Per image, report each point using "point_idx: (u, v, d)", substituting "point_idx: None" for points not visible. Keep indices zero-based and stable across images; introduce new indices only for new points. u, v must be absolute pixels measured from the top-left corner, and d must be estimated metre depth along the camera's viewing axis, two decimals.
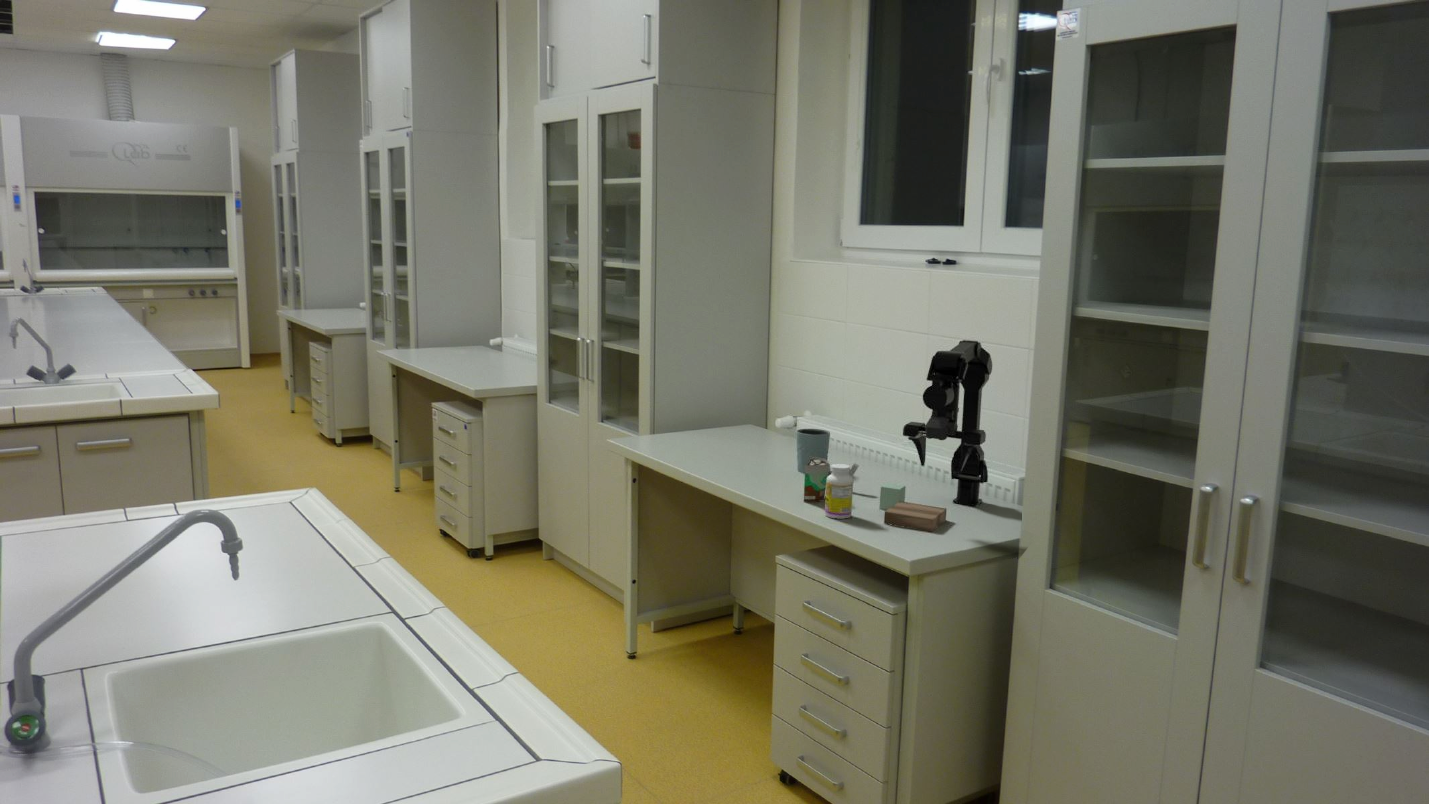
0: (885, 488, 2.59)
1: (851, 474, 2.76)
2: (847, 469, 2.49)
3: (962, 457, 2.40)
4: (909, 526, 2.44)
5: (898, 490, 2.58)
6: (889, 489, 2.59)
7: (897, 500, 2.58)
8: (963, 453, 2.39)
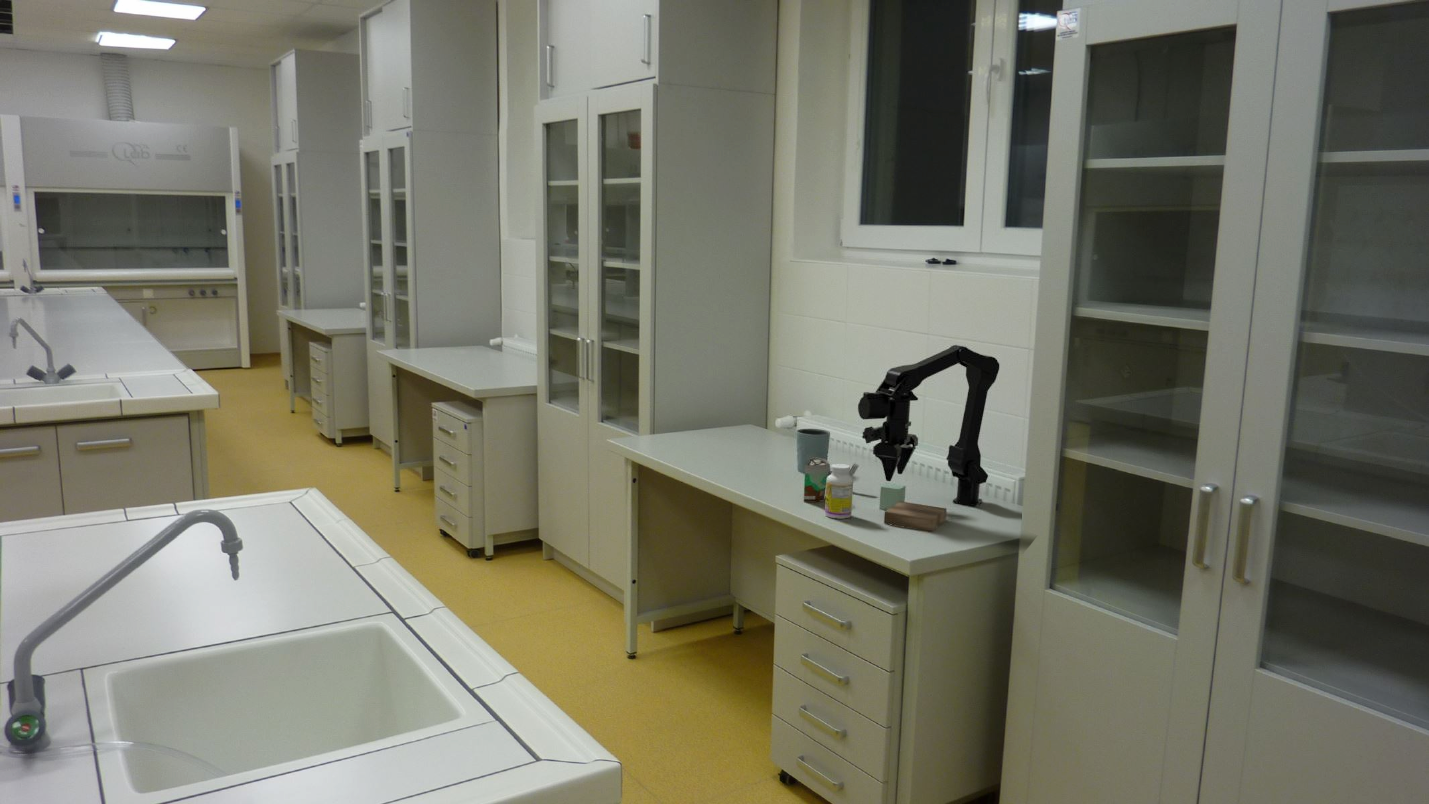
0: (885, 488, 2.59)
1: (851, 474, 2.76)
2: (847, 469, 2.49)
3: None
4: (909, 526, 2.44)
5: (898, 490, 2.58)
6: (889, 489, 2.59)
7: (897, 500, 2.58)
8: None
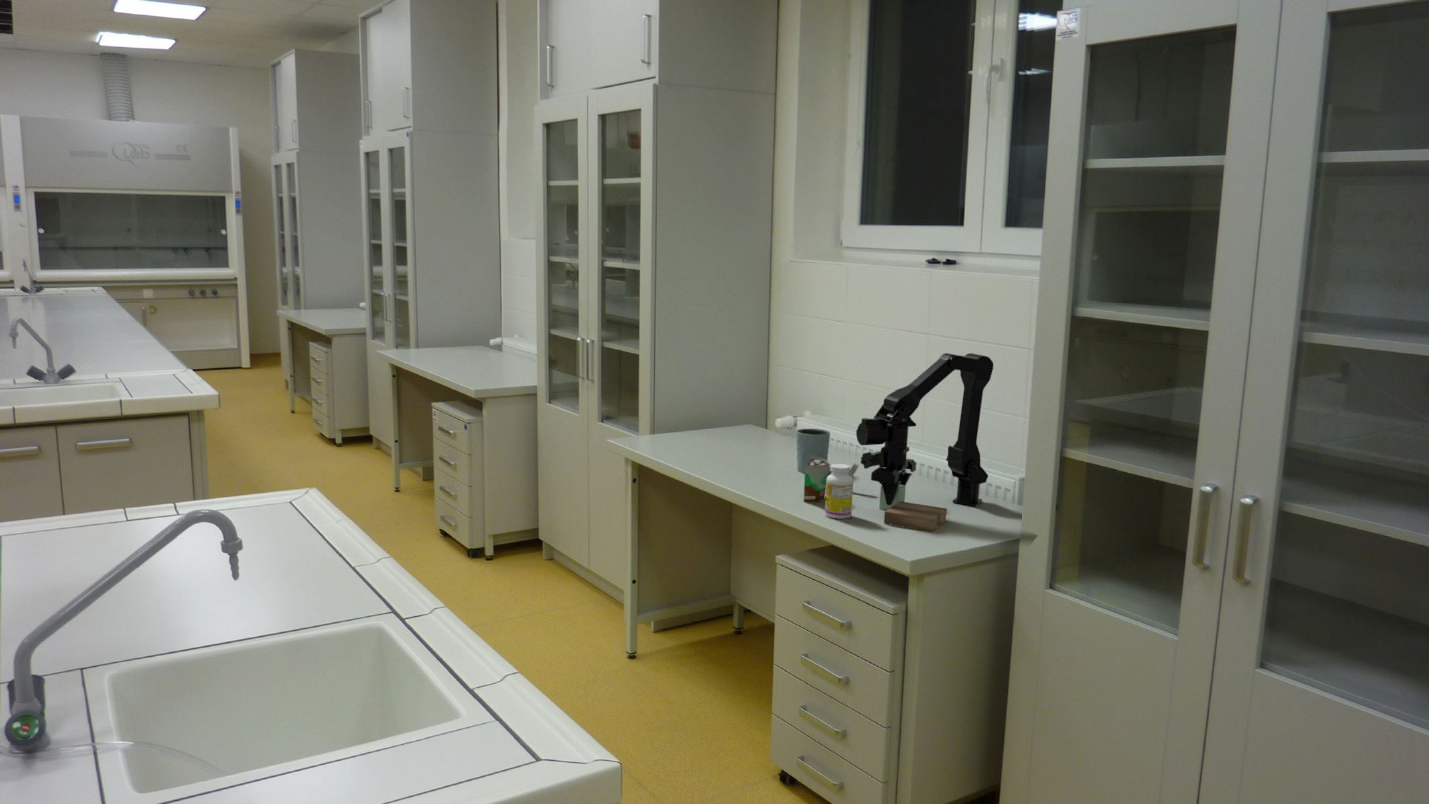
0: None
1: (851, 474, 2.76)
2: (847, 469, 2.49)
3: None
4: (909, 526, 2.44)
5: (898, 490, 2.58)
6: None
7: (897, 500, 2.58)
8: None
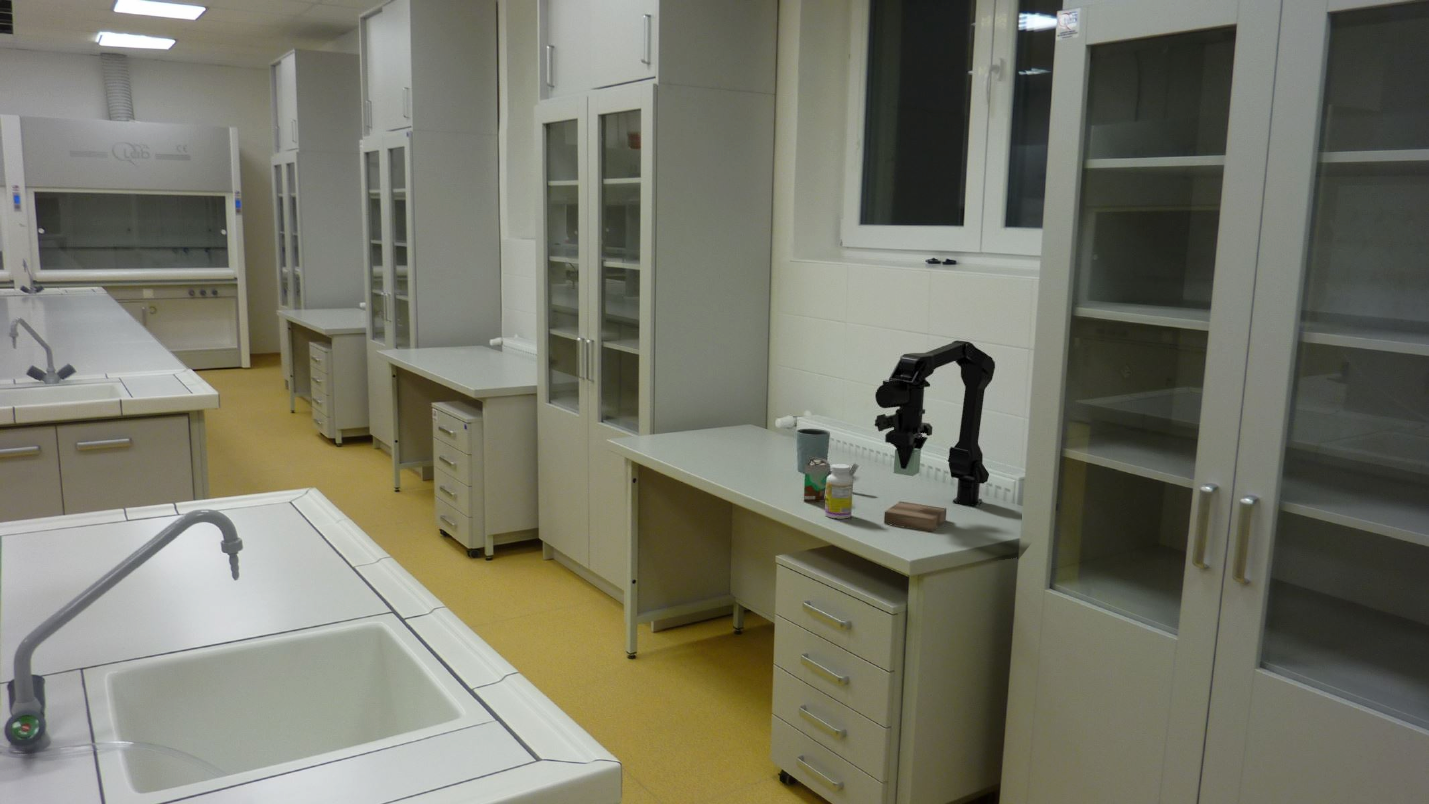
0: None
1: (851, 474, 2.76)
2: (847, 469, 2.49)
3: None
4: (909, 526, 2.44)
5: (913, 453, 2.49)
6: None
7: (912, 463, 2.50)
8: None
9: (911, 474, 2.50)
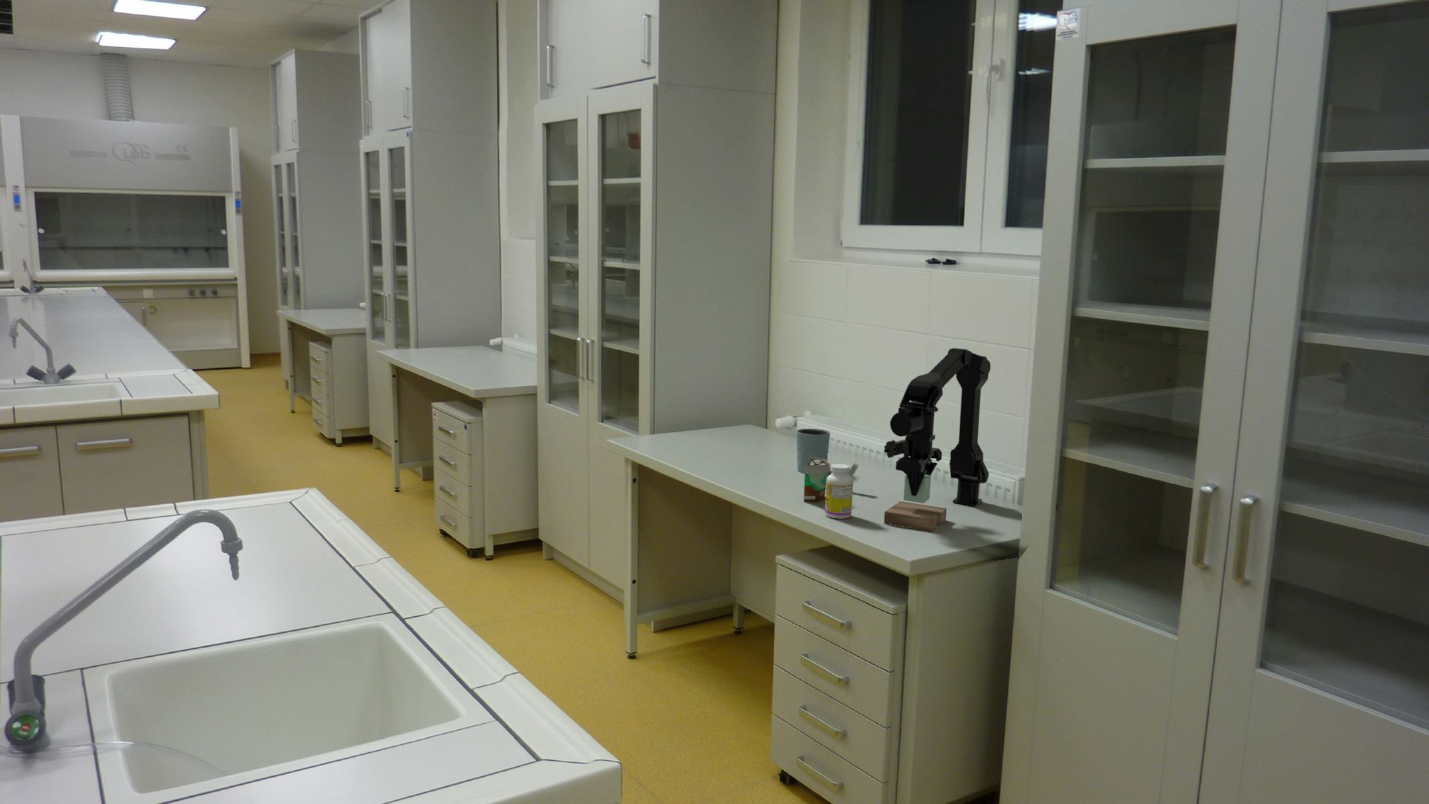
0: None
1: (851, 474, 2.76)
2: (847, 469, 2.49)
3: None
4: (909, 526, 2.44)
5: (924, 480, 2.45)
6: None
7: (922, 490, 2.45)
8: None
9: (922, 501, 2.46)
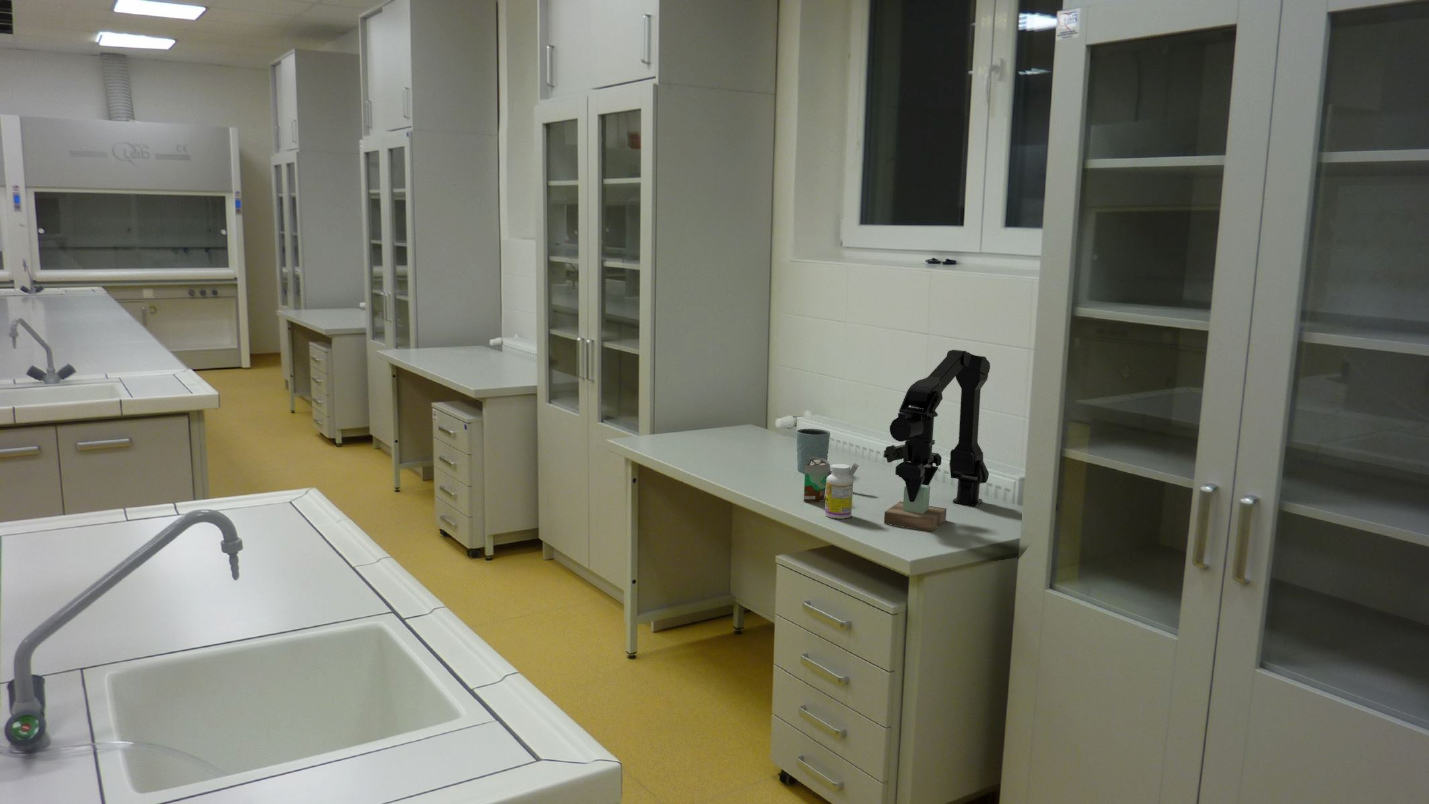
0: None
1: (851, 474, 2.76)
2: (847, 469, 2.49)
3: None
4: (909, 526, 2.44)
5: (923, 491, 2.45)
6: None
7: (922, 501, 2.46)
8: None
9: (921, 512, 2.46)
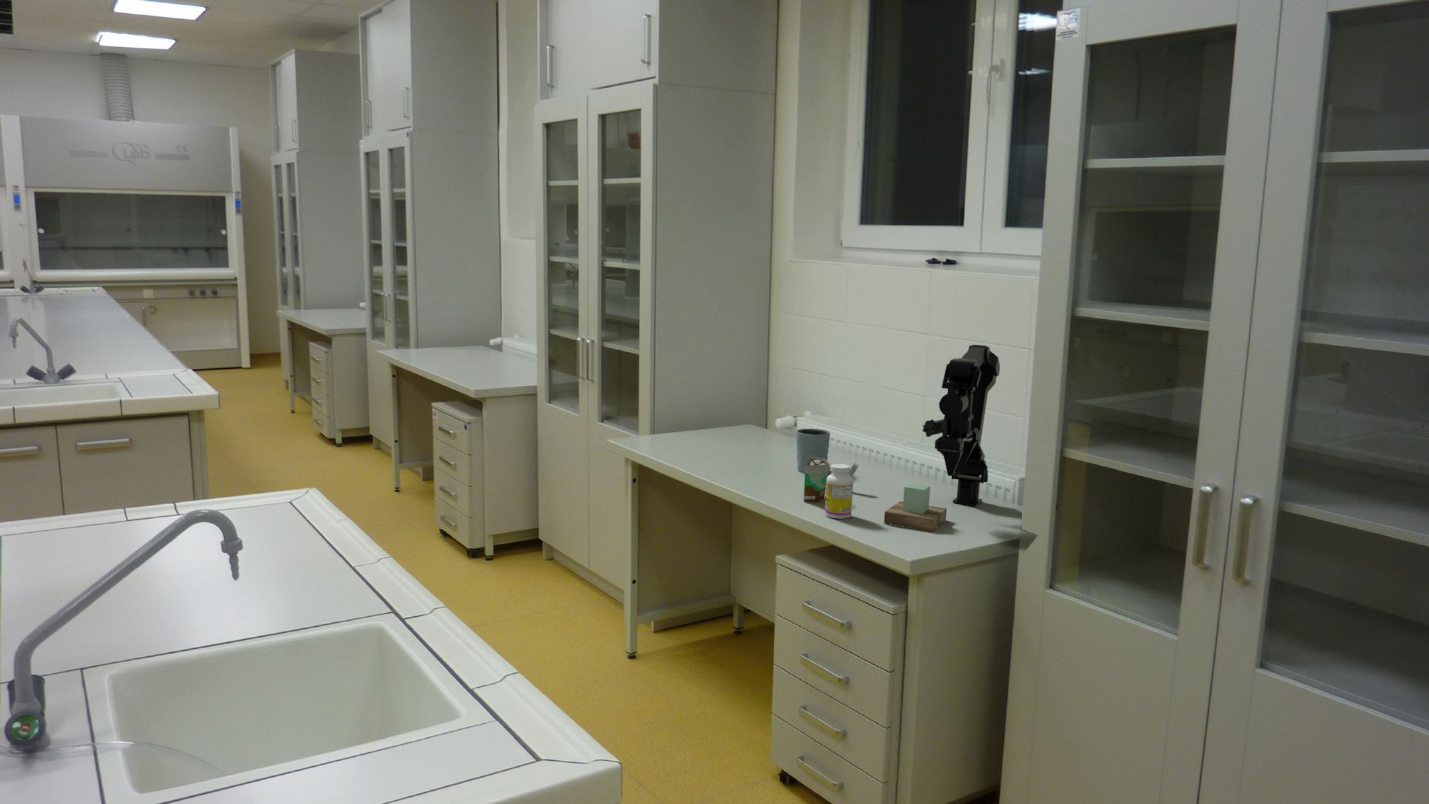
0: (909, 488, 2.47)
1: (851, 474, 2.76)
2: (847, 469, 2.49)
3: None
4: (909, 526, 2.44)
5: (923, 491, 2.45)
6: (913, 489, 2.46)
7: (922, 501, 2.46)
8: None
9: (921, 512, 2.46)
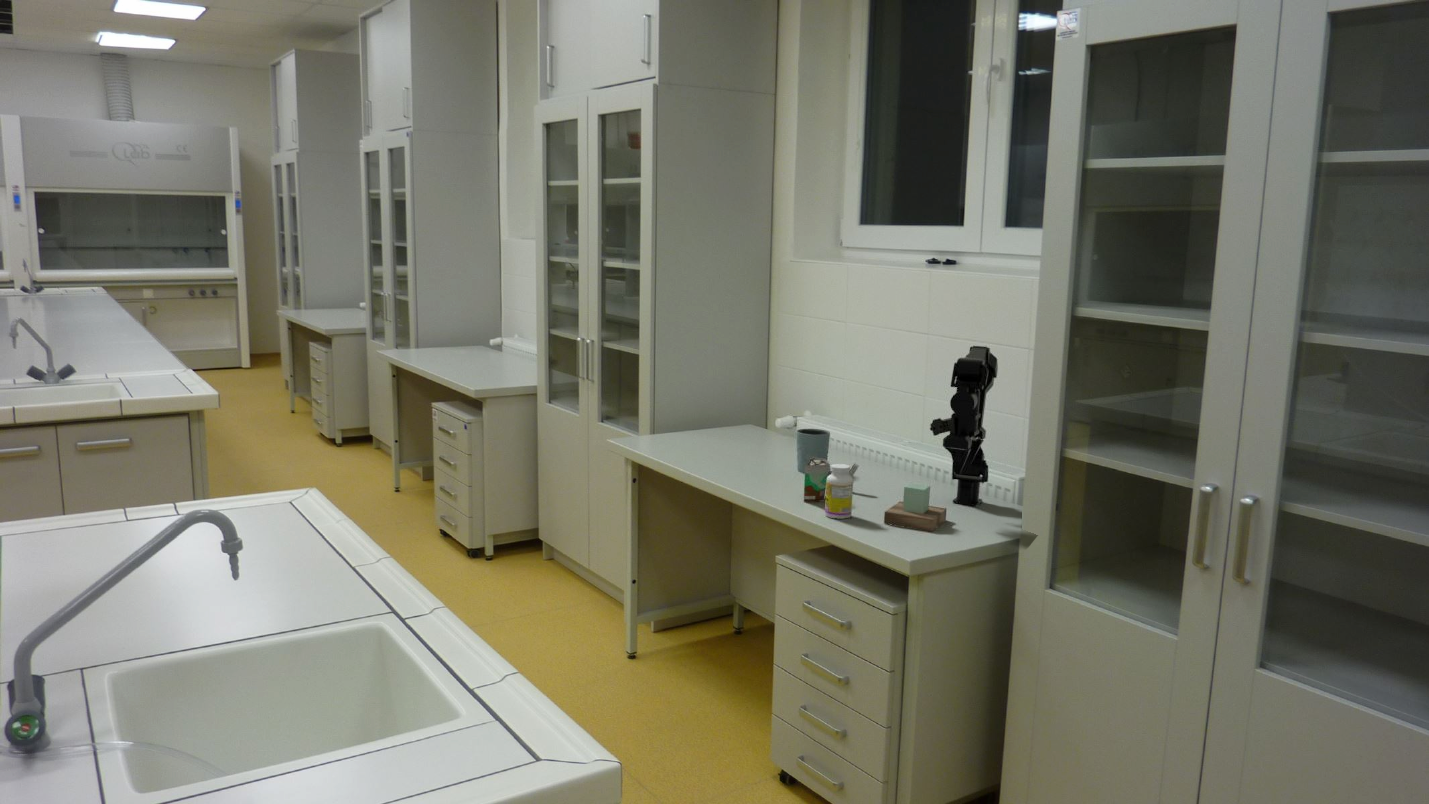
0: (909, 488, 2.47)
1: (851, 474, 2.76)
2: (847, 469, 2.49)
3: None
4: (909, 526, 2.44)
5: (923, 491, 2.45)
6: (913, 489, 2.46)
7: (922, 501, 2.46)
8: None
9: (921, 512, 2.46)
